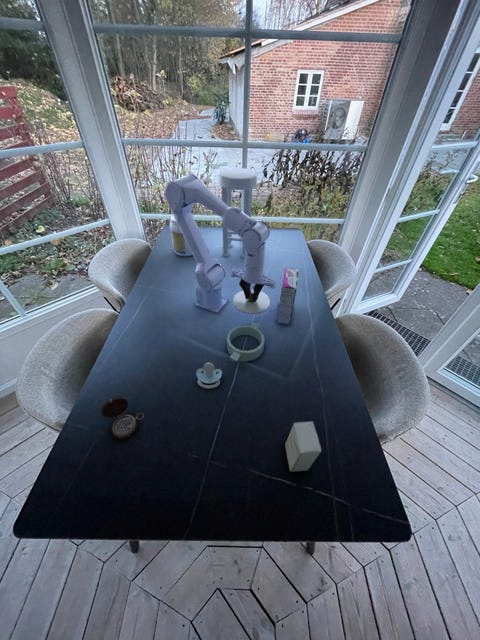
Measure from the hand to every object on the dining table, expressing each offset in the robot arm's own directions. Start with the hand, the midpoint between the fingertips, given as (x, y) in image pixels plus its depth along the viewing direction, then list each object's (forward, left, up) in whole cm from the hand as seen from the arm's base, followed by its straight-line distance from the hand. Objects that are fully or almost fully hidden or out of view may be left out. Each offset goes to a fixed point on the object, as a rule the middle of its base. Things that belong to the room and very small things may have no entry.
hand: (251, 299), depth 89 cm
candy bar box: (+10, +8, -10) cm, 16 cm away
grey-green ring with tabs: (+4, -13, -9) cm, 16 cm away
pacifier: (0, -29, -10) cm, 30 cm away
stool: (-26, +41, -10) cm, 50 cm away
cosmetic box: (+29, -38, -10) cm, 49 cm away
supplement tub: (-48, +30, -10) cm, 58 cm away
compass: (-12, -49, -10) cm, 51 cm away
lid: (0, 0, -1) cm, 1 cm away
